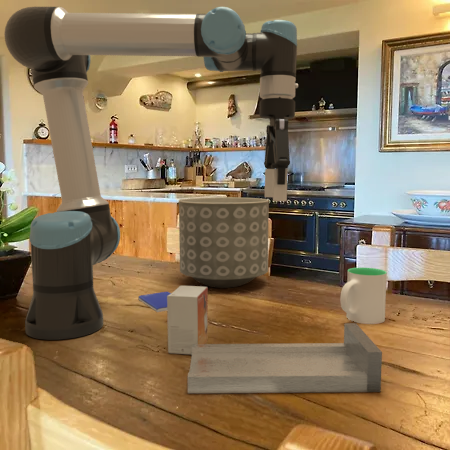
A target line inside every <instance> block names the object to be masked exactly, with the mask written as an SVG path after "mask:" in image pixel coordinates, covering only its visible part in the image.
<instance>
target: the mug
mask: <svg viewBox="0 0 450 450" xmlns="http://www.w3.org/2000/svg"><path fill="white" fill-rule="evenodd" d="M346 281H347V282H346V283H344V285H343V286H342V288H341V292H340V298H339V299H340V307H341V309H342V311H344V312H345V313H346V317H347V318H348V319H347V318H346V319H347V320H349V321H350V320H351V321H350V322H353V321H354V322H353V323H356V324H357V323H358V324H365V325H375V324H376V325H377V324H381V323H384V322H385V320H386V300H387V298H386V297H387V295H386V294H387V271H386V270H383V269H379V268H373V267H352V268H348V269H347V280H346Z"/></svg>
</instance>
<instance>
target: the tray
mask: <svg viewBox="0 0 450 450" xmlns="http://www.w3.org/2000/svg"><path fill="white" fill-rule="evenodd" d="M343 325H344V329H343V343H342V342H339V343H338V342H337V343H336V342H334V343H332V342H331V343H330V342H328V343H325V342H324V343H323V342H321V343H320V342H319V343H318V342H317V343H314V342H313V343H309V342H308V343H307V342H306V343H303V342H302V343H297V342H296V343H205V344H192V355H191V358H190V364H189V365H190V367H189V372H188V373H187V394H258V393H259V394H262V393H263V394H271V393H272V394H275V393H276V394H278V393H282V394H284V393H285V394H288V393H289V394H290V393H292V394H293V393H303V394H304V393H381V390H382V363H383V362H382V359H383V355H382V354H383V352H382V350H381V349H380V348H379V347H378V345H376V344H375V343H374V341H373V340H372V339H371V338H370V337H369V336H368V335H367V334H366V333H365V332H364V330H363V329H362V328H361V327H360V326H359V325H358V324H357V322H353V323H350V322H349V323H344V324H343Z"/></svg>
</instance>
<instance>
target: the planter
mask: <svg viewBox="0 0 450 450" xmlns="http://www.w3.org/2000/svg"><path fill="white" fill-rule="evenodd" d="M269 201H270V200H269V199H267V198H258V197H256V198H255V197H226V196H225V197H224V196H223V197H220V196H219V197H194V198H193V197H192V198H191V197H190V198H181V199H179V200H178V216H179V217H178V220H179V221H178V224H179V227H178V228H179V229H178V230H179V232H178V233H179V272H180V274H182V275H185V276H187V277H191V278H192V279H193V280H195V281H196V282H198V283H200V284H202V285H204V286H206V287H211V288H217V289H218V288H220V289H229V288H230V289H231V288H237V287H241V286H243V285H245V284H247V283H250V282H252V281H253V280H254V279H255V278H257V277H261V276H264V275H266V274H267V273H268V271H269V212H270V211H269V210H270V209H269V206H270V205H269Z"/></svg>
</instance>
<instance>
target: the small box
mask: <svg viewBox="0 0 450 450" xmlns="http://www.w3.org/2000/svg"><path fill="white" fill-rule="evenodd" d="M208 287H209V286H202V285H200V286H198V285H197V286H195V285H179V286H178V287H177V288H176V289H175V290H173V292H170V293H171V294H170V295H168V296H167V311H166V313H167V317H166V318H167V353H168V354H177V355H190V356H192V344H207V343H208V339H209V331H208V330H209V329H208V328H209V327H208V326H209V325H208V324H209V321H208V320H209V319H208V318H209V315H208V314H209V312H208V308H209V307H208V304H209V303H208V302H209V301H208V298H209V296H208V291H209V290H208V289H209V288H208Z"/></svg>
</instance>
